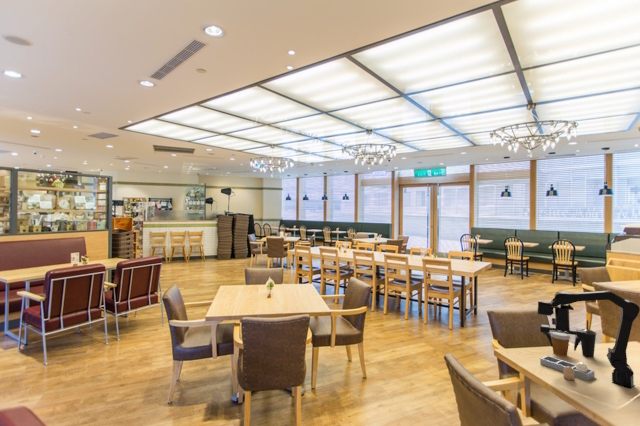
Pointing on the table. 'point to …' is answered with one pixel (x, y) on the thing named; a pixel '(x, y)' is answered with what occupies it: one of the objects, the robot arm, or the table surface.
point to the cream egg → (581, 367)
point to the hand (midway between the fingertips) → (563, 348)
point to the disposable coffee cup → (560, 343)
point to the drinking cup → (588, 343)
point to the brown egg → (569, 373)
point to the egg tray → (561, 364)
